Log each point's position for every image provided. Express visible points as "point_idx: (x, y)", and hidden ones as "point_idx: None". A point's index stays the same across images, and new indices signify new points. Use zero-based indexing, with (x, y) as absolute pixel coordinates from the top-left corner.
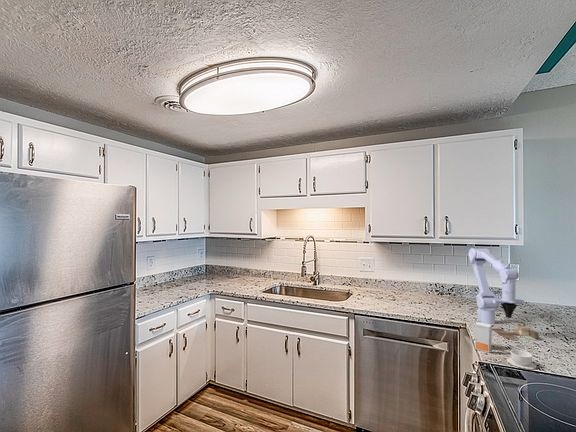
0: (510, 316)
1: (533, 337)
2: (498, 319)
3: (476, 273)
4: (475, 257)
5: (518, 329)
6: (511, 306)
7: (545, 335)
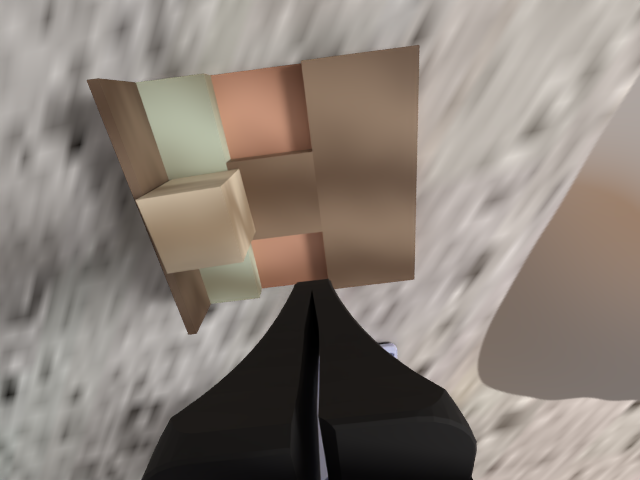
0: (304, 289)
1: (149, 130)
2: None
3: None
4: None
5: (239, 214)
6: (297, 429)
7: (42, 272)
